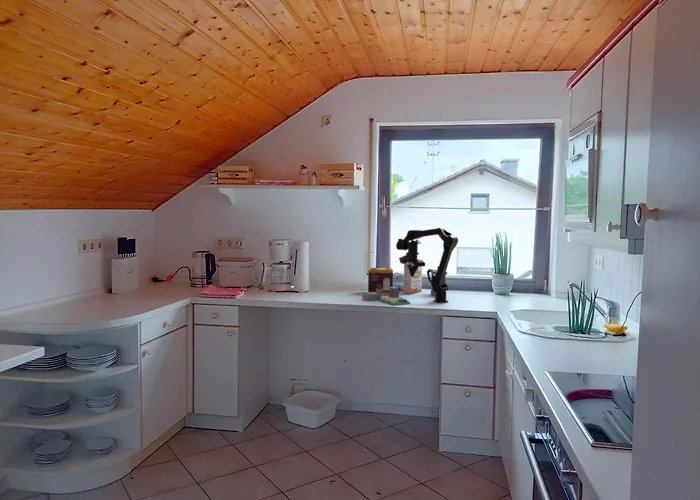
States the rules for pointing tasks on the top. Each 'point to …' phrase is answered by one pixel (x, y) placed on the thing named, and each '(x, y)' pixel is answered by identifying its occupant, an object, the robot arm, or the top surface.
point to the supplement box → (380, 280)
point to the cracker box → (412, 280)
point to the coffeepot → (430, 280)
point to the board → (394, 300)
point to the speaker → (371, 296)
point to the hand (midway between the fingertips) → (412, 276)
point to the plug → (394, 292)
